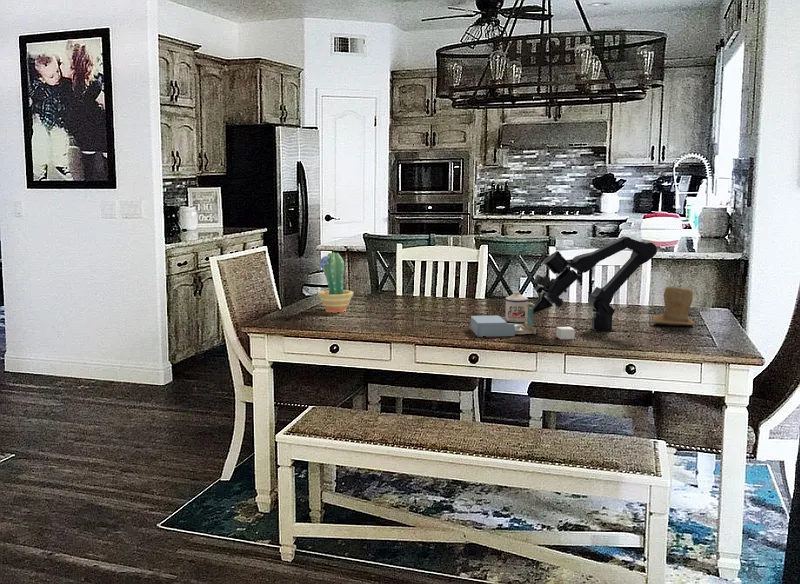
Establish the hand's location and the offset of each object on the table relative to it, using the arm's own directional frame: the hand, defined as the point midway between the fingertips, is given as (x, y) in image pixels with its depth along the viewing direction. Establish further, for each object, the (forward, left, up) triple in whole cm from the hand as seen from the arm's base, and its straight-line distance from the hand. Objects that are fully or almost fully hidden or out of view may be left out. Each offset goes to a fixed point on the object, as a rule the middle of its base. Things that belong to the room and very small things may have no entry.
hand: (532, 312), depth 290 cm
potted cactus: (+72, -52, -7) cm, 89 cm away
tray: (+7, 0, -7) cm, 10 cm away
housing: (+14, 0, -7) cm, 16 cm away
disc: (+8, 0, -6) cm, 10 cm away
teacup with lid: (-1, -22, -7) cm, 23 cm away
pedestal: (-9, +12, -7) cm, 17 cm away
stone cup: (-58, -8, -7) cm, 59 cm away
